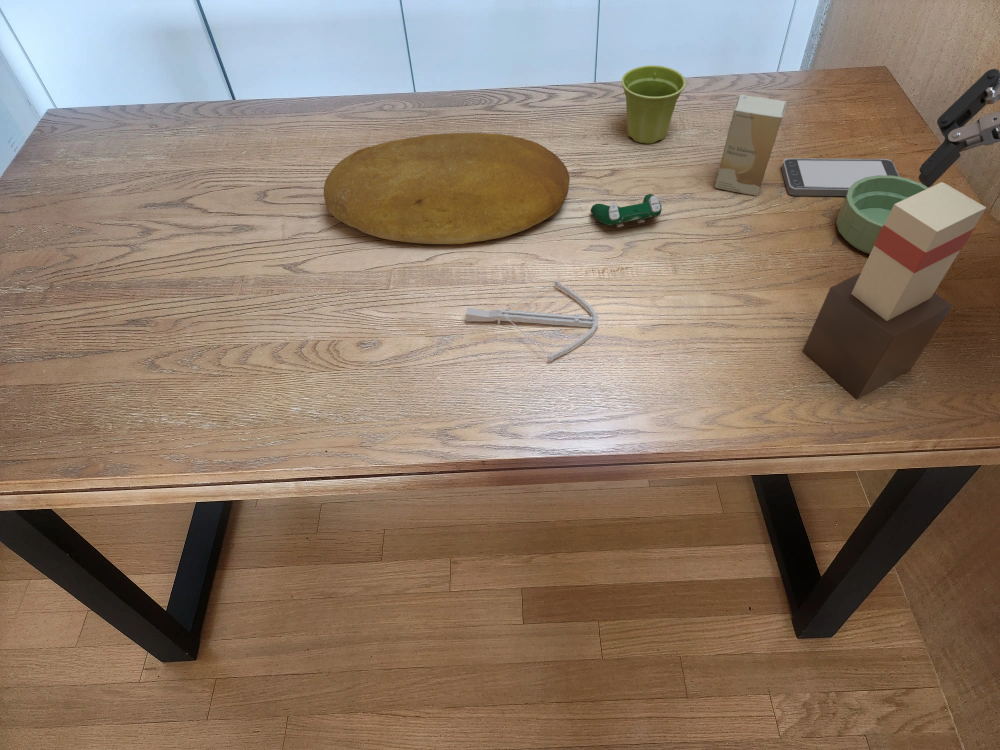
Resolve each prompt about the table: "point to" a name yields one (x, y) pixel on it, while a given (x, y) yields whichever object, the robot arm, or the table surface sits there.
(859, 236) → the bowl
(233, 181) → the table surface
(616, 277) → the table surface
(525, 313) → the crossbow
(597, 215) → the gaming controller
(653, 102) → the plant pot
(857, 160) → the smartphone
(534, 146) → the bread
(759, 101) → the cosmetic box
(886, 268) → the snack carton
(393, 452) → the table surface
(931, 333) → the block
